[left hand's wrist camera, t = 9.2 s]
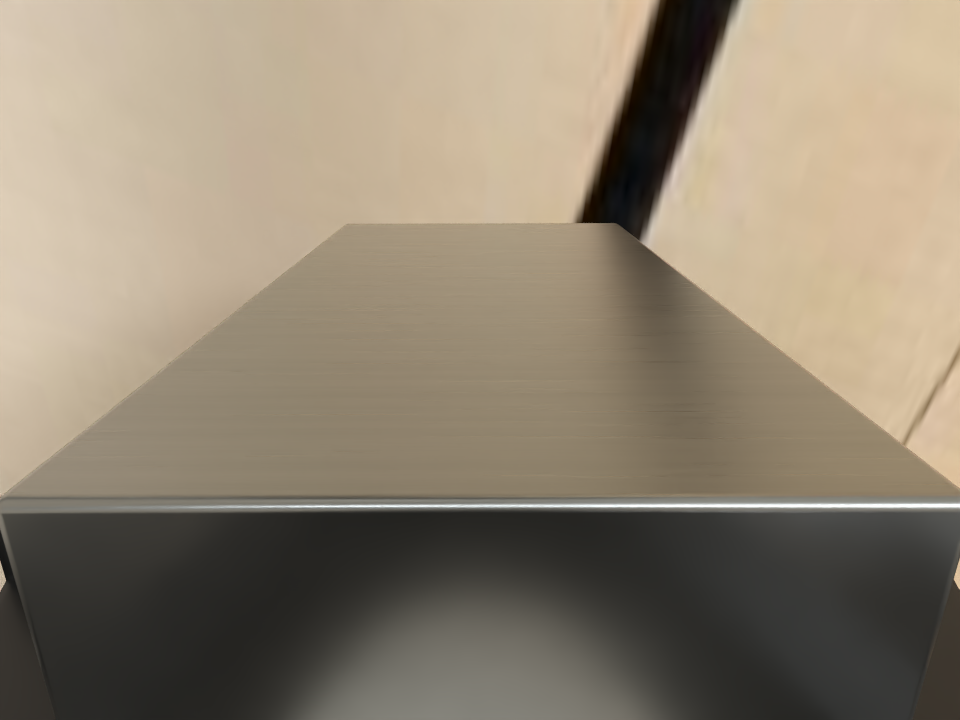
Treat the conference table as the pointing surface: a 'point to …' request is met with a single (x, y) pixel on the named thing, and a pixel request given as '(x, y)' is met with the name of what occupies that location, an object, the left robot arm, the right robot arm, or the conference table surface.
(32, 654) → the left robot arm
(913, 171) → the conference table surface
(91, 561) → the box
